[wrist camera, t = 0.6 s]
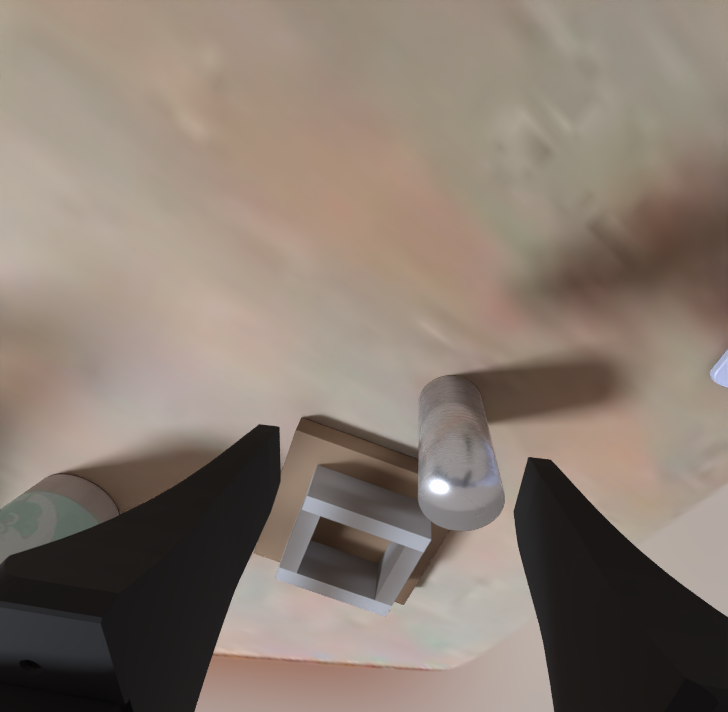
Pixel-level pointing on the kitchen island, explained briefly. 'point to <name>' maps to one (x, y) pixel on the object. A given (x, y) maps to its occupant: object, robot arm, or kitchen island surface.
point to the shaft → (456, 457)
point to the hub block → (349, 520)
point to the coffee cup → (52, 513)
